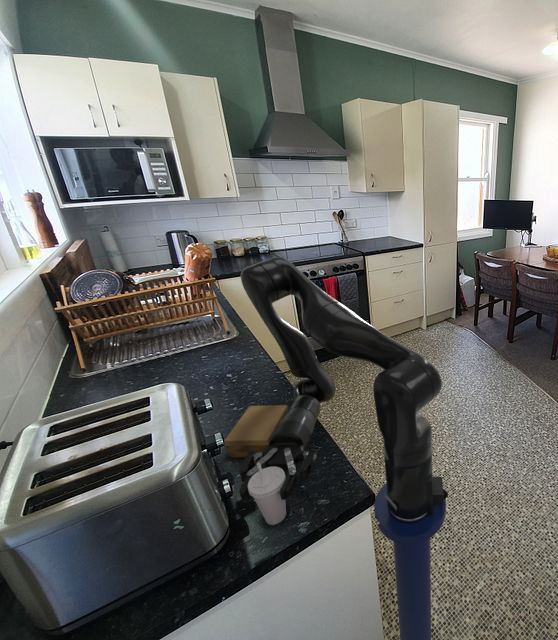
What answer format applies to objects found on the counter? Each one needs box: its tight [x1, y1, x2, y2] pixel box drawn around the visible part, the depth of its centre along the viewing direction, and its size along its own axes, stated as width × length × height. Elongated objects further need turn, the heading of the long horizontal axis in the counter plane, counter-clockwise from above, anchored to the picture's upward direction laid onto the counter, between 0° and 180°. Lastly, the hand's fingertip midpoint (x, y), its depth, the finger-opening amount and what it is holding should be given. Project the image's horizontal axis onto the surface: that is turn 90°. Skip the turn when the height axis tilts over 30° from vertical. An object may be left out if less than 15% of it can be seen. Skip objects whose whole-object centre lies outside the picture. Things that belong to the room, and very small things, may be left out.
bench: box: [223, 404, 289, 458], centre depth 86 cm, size 10×13×5 cm
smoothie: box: [248, 462, 287, 526], centre depth 64 cm, size 6×6×14 cm
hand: (263, 496), depth 62 cm, fingers closed on smoothie, 6 cm apart
